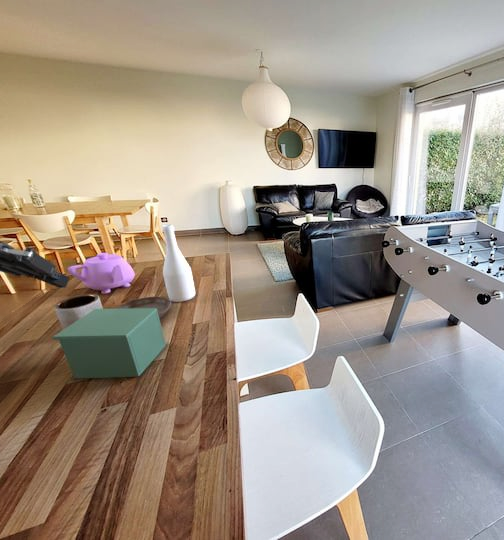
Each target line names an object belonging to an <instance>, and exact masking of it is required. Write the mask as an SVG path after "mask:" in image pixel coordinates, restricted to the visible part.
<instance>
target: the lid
mask: <svg viewBox="0 0 504 540" xmlns="http://www.w3.org/2000/svg"><path fill="white" fill-rule="evenodd" d="M156 311H157V308H129V309H116V308H103V309H94V310H93V311H91V312H90V313H88V314H87V315H85V316H84V317H82V318H81V319H79V320H78V321H76V322H74V323H73V324H71V325H70V326H68V327H67V328H65V329H64V330H63V329H62V330H61V331H59V332H57V333H56V334H54V335H53V336H52V338H53V340H59V339H93V338H127V337H128V336H129V335H130V334H132V333H133V332H134V331H135V330H136V329H137V328H138V327H139V326H141V325H142V324H143V323H144V322H145V321H146V320H147V319H148V318H149V317H151V316H152V315H153V314H154V313H155V312H156Z"/></svg>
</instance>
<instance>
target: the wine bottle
mask: <svg viewBox="0 0 504 540" xmlns="http://www.w3.org/2000/svg"><path fill="white" fill-rule="evenodd" d="M161 229H162V233H163V235H164V239H165V245H166V246H165V247H166V249H165V256H164V263H163V266H162V276H163V280H164V284H165V289H166V293H167V297H168V298H167V299H169V300H170V301H171V302H173V303H182V302H186V301H190V300H192V299H194V298H195V297H196V288H195V283H194V278H193V272H192V268H191V266H190V265H189V263H188V261H187V260H186V258H185V256H184V255H183V254H182V252H181V250H180V249H179V246H178V243H177V239H176V235H175V227H174V226H173V224H164V225H162V227H161Z"/></svg>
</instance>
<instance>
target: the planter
mask: <svg viewBox="0 0 504 540" xmlns="http://www.w3.org/2000/svg"><path fill="white" fill-rule="evenodd" d="M53 309H54V311H55V314H56V316H57V318H58V321H59V323H60V326H61V329H62V330H64V329H65V328H67V327H68V326H70V325H71V324H73V323H74V322H76V321H78V320H79V319H81V318H82V317H84V316H85V315H87V314H88V313H90V312H91V311H93V310H94V309H104V306H103V304H102V301H101V297H100V296H99V295H98V294H95V293H94V294H93V293H86V294H78V295H73V296H70V297H67V298H64V299H61V300H59V301H58V302H56V303H55V304H54V305H53Z"/></svg>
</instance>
